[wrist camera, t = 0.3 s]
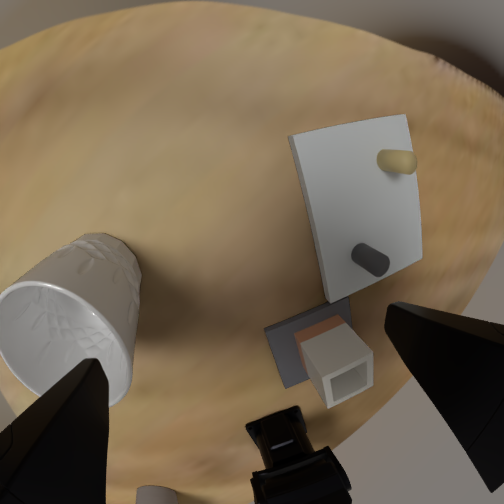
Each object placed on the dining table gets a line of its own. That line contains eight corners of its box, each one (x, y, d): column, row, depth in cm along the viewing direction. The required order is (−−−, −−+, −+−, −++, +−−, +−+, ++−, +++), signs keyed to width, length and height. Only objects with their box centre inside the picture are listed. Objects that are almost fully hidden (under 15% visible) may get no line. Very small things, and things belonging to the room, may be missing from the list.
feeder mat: (352, 353, 28) (354, 357, 28) (283, 384, 27) (285, 388, 27) (345, 294, 25) (348, 297, 25) (263, 328, 24) (265, 332, 24)
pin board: (415, 255, 26) (442, 269, 22) (325, 298, 25) (347, 321, 21) (398, 114, 21) (429, 112, 17) (287, 136, 19) (310, 132, 16)
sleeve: (342, 347, 27) (373, 385, 21) (302, 365, 26) (327, 408, 20) (337, 314, 25) (373, 351, 19) (293, 333, 24) (321, 377, 19)
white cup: (116, 204, 18) (61, 249, 9) (168, 295, 21) (164, 389, 12) (39, 254, 18) (-30, 318, 8) (92, 332, 21) (60, 422, 12)
